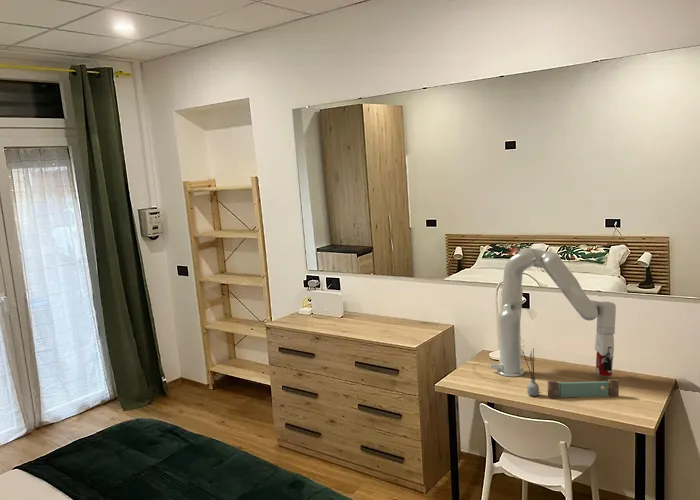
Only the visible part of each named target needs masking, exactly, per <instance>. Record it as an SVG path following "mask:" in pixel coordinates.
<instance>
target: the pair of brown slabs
mask: <svg viewBox="0 0 700 500" xmlns="http://www.w3.org/2000/svg"><path fill="white" fill-rule="evenodd" d="M558 382H559V381H557V380H547V398H548V399H558V398H559V397H558ZM607 382H608V396H607V397H609V398H611V397H612V398H618V397H619V393H620V392H619V389H620V388H619V387H620V386H619V385H620V381H619V379H618V378H608V379H607Z"/></svg>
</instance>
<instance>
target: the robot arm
mask: <svg viewBox="0 0 700 500" xmlns="http://www.w3.org/2000/svg"><path fill="white" fill-rule="evenodd" d="M529 268H540V269H543V270H544V272H545V273H546V274H547V275H548V276H549V278H550V279H551V280H552V281H553V282H554V284H555V285H556V286H557V287H558V289H559V290H560V291H561V293H562V294H563V296H564V297H565V298H566V299H567V301H568V302H569V303H570V304H571V306H572V307H573V309H574V310H575V311H576V312H577V313H578V315H579V316H580V317H581V318H582V319H583V320H585V321H587V322H588V321H594V320H595V319H596V331H595V332H596V333H595V340H594V341H595V344H594V350H595V352H596V353H597V352H599V353H600V355H602V356H604V358H605V362H604V371H611V368H612V369H613V364H612V360H613V359H614V352H615V338H614V335H615V334H616V332H615V331H616V309H617V306H616V304H615V303H614V302H611V301H597V300H592V299H590V298H589V297H588V296H587V294H586V292H585V291H584V289H582V287H581V285H580V282H579V281H578V279H577V278H576V277H575V275H574V274H573V273H572V272H571V270H570V269H569V268H568V266H566V264H565V263H564V261H563V260H562V257H560V255H559V254H557V253H556V252H553V251H547V250H541V249H537V248H530V247H525V248H522V249H520V250H519V251H518V253H516V254H515V255H513V256H511V257H510V258H509V259H508V260H507V261H506V264H505V266H504V270H503V277H502V278H503V279H502V289H501V309H500V313H499V317H498V326H499V327H498V329H499V361H498V363H495V364H494V363H493V364H489V368H490V369H493V370H496V373H497V374H498V375H500V376H503V377H509V378H510V377H514V378H515V377H516V378H517V377H520V376H523V375H524V374H525V370H524V368H522V365H521V364H522V351H521V350H522V348H521V346H522V345H521V342H522V341H521V319H522V308H523V306H522V305H523V294H524V293H523V292H524V291H523V288H522V286H523V285H522V284H523V275H524V272H525V270H527V269H529ZM606 354H609V355H606ZM607 357H609V358H607Z"/></svg>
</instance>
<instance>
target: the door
mask: <svg viewBox="0 0 700 500" xmlns="http://www.w3.org/2000/svg"><path fill="white" fill-rule="evenodd" d="M557 382H558V398H559V399H560V398H581V397H583V398H584V397H588V398H589V397H591V398H592V397H593V398H594V397H609V396H608V380H606V381H605V380H604V381H572V382H560V381H557Z"/></svg>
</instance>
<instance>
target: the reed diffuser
mask: <svg viewBox="0 0 700 500" xmlns="http://www.w3.org/2000/svg"><path fill="white" fill-rule="evenodd" d="M521 350H522V349H521ZM521 352H522V354H523V357H524V360H525V362H526V365H527V368H528V371H529V373H530V376H531V378H530V382H528V383H527V385H526V389H527V390H526V391H527V393H526V394H528V395H529V396H533V397H535V396H538V395H539V394H540V386H539V384H538V383H537V382H536V378H535V348H532V350H531V351H530V354H529V356H530V357H529V359H530V360H531V362H530V367H529V365H528V361H527V358H526V356H525V353H524V350H522V351H521ZM530 368H531V369H530Z"/></svg>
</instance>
